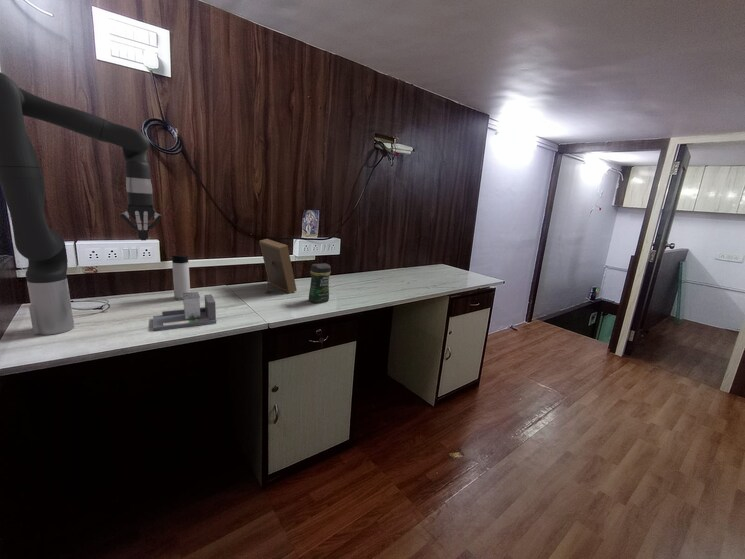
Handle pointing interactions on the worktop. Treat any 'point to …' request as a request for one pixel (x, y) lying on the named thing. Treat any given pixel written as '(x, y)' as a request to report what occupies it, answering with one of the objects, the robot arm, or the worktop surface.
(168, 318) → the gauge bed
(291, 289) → the photo frame
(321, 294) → the coffee jar
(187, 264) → the travel mug
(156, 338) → the worktop surface
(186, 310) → the carriage
